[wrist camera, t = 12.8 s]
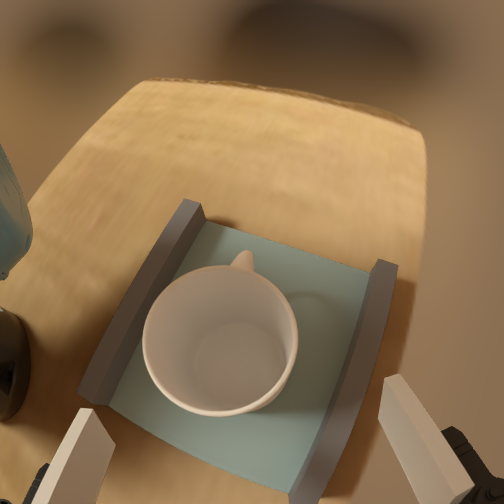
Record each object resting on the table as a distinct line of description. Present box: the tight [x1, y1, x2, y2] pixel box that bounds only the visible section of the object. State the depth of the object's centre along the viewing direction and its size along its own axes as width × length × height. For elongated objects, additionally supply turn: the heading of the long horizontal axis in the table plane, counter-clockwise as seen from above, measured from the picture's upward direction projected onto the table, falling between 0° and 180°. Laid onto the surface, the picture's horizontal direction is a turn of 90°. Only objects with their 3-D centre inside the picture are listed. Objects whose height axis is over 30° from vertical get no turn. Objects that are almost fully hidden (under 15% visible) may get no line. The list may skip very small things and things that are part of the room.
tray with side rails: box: [76, 199, 398, 504], centre depth 24 cm, size 22×22×4 cm
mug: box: [142, 250, 298, 417], centre depth 21 cm, size 9×12×11 cm
